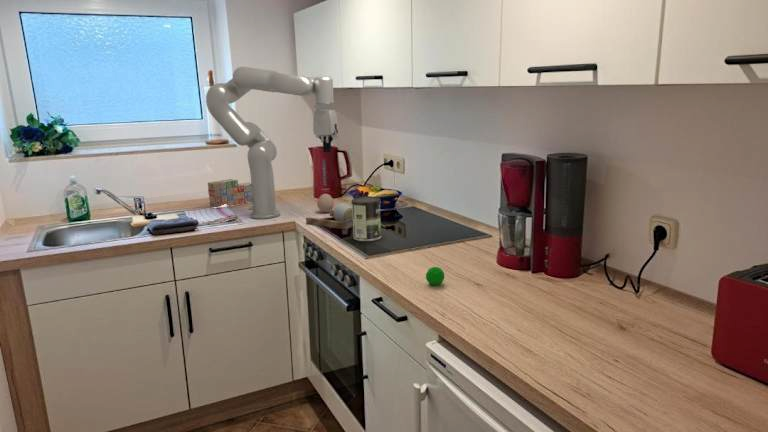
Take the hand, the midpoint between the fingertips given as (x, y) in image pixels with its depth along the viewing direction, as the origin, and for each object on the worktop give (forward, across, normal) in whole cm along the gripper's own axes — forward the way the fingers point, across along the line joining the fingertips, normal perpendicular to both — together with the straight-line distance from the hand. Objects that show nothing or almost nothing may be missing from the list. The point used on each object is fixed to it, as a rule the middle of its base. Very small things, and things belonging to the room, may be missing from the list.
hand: (327, 151), depth 229 cm
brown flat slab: (+27, +11, -9) cm, 31 cm away
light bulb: (+27, +15, -7) cm, 32 cm away
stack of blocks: (+28, -57, -3) cm, 64 cm away
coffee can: (+27, +35, -23) cm, 50 cm away
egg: (+27, -5, +3) cm, 28 cm away
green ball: (+27, +79, -54) cm, 100 cm away
